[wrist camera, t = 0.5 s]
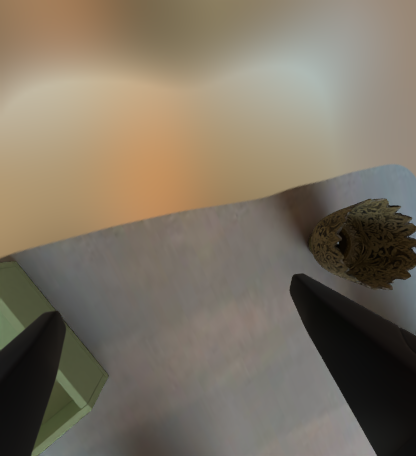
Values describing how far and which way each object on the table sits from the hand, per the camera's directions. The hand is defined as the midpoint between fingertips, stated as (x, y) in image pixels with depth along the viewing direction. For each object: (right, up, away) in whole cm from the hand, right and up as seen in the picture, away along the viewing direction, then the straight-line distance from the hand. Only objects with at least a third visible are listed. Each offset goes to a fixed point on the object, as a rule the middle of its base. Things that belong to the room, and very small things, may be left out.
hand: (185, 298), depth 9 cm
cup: (+14, +1, +17) cm, 22 cm away
